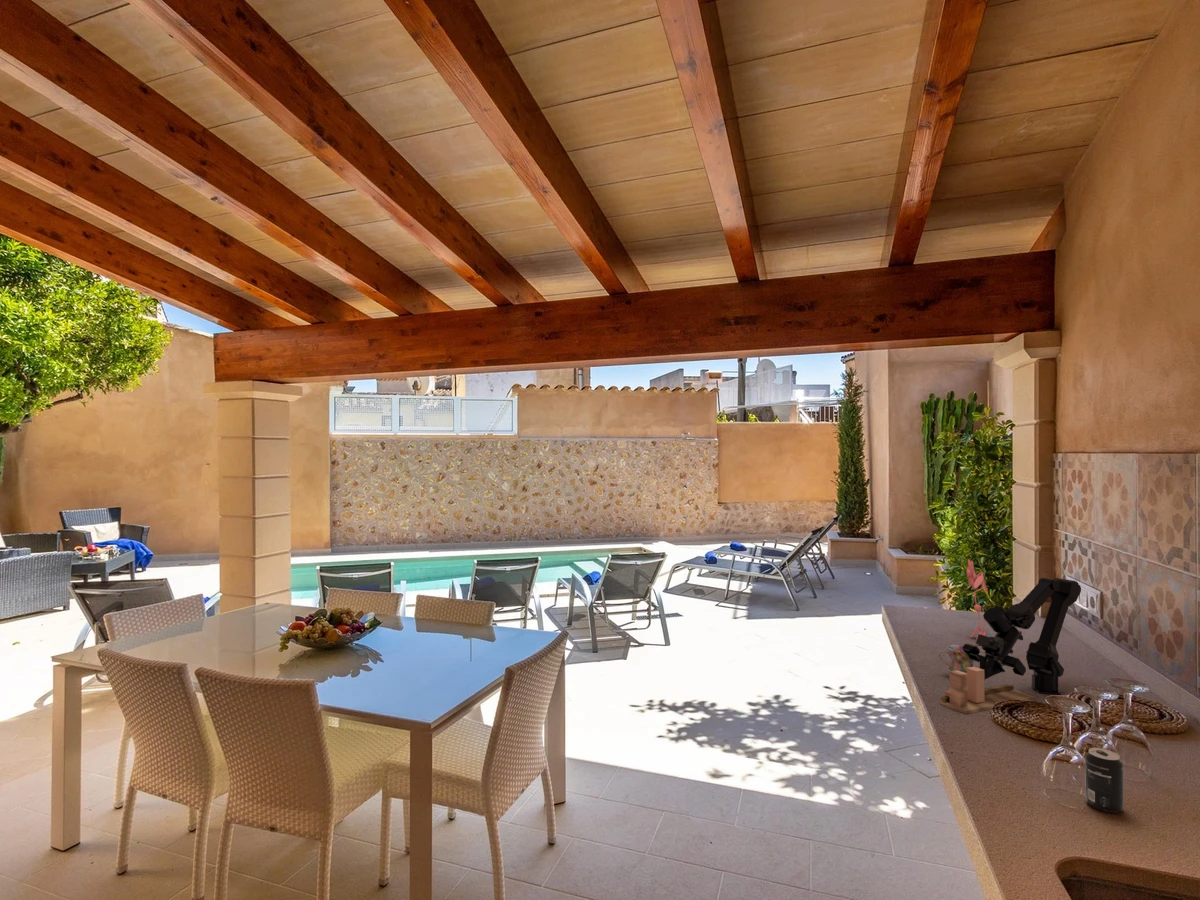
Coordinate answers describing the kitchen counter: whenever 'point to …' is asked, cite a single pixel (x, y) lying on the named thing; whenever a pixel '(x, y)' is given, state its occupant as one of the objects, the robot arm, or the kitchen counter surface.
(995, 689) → the trammel board
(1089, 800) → the beverage can
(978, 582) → the figurine
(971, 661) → the mug
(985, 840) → the kitchen counter surface
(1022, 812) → the kitchen counter surface
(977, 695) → the block
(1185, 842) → the kitchen counter surface
